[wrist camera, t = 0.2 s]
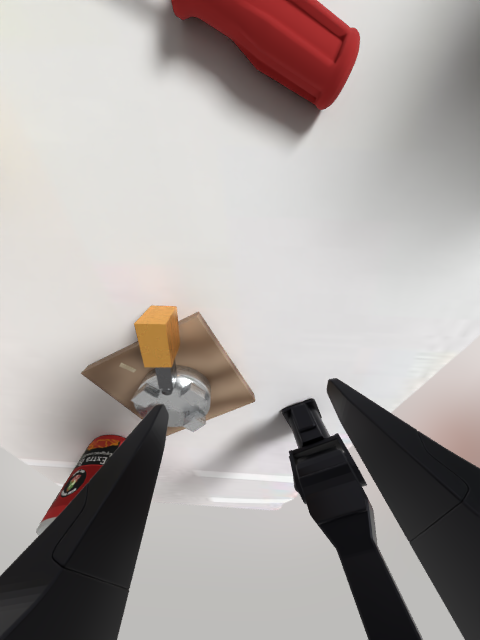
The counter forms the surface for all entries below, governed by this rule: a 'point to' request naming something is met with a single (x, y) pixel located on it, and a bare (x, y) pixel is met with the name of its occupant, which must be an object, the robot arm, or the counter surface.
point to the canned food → (82, 475)
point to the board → (194, 351)
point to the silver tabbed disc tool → (169, 372)
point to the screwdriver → (285, 41)
